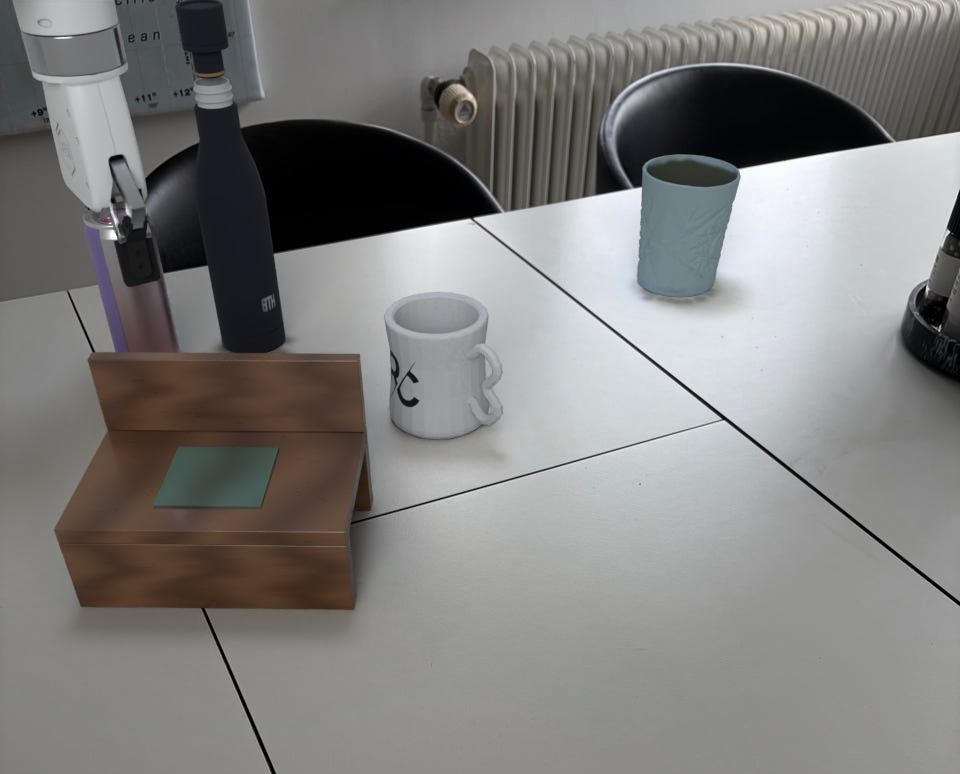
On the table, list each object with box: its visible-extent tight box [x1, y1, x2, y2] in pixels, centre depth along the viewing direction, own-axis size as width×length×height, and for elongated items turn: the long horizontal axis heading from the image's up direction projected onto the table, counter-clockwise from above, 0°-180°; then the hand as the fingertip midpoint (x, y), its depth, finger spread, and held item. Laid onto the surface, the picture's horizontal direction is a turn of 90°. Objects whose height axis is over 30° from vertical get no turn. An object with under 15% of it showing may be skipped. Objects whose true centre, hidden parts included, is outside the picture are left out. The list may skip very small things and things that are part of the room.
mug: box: [383, 291, 504, 440], centre depth 91 cm, size 12×9×10 cm
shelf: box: [53, 351, 374, 611], centre depth 76 cm, size 20×14×13 cm
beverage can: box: [82, 208, 182, 353], centre depth 97 cm, size 6×6×15 cm
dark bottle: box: [174, 0, 286, 353], centre depth 96 cm, size 6×6×30 cm
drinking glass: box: [636, 153, 742, 298], centre depth 113 cm, size 10×10×12 cm
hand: (127, 265), depth 95 cm, fingers open, 7 cm apart
